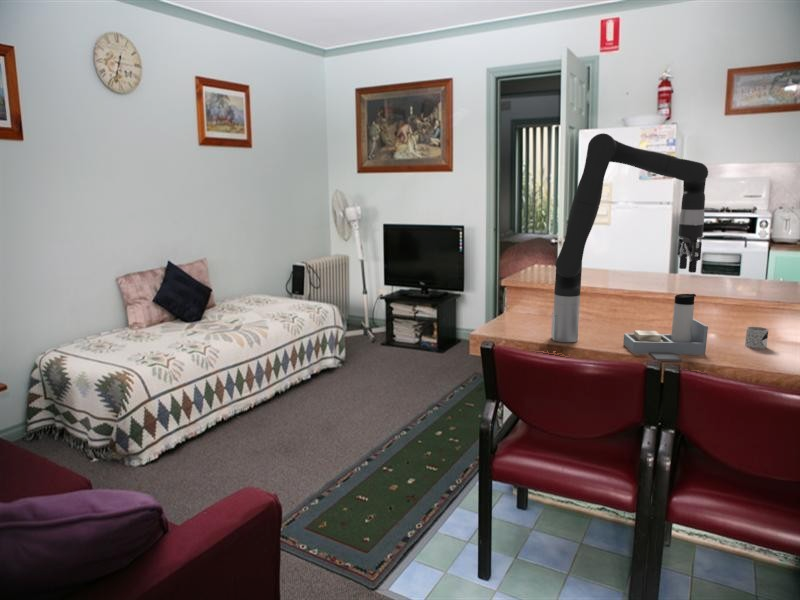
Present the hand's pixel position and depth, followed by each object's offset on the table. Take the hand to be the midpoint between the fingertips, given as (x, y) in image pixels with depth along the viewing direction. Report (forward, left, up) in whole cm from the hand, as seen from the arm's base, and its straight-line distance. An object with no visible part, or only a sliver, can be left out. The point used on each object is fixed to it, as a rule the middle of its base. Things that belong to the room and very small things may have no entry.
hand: (687, 270), depth 208 cm
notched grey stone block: (+29, +8, -28) cm, 41 cm away
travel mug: (0, 0, -28) cm, 28 cm away
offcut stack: (-11, 0, -28) cm, 30 cm away
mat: (-9, -11, -28) cm, 31 cm away
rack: (-6, 0, -28) cm, 29 cm away
